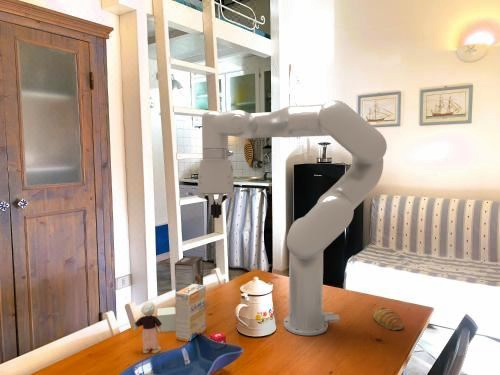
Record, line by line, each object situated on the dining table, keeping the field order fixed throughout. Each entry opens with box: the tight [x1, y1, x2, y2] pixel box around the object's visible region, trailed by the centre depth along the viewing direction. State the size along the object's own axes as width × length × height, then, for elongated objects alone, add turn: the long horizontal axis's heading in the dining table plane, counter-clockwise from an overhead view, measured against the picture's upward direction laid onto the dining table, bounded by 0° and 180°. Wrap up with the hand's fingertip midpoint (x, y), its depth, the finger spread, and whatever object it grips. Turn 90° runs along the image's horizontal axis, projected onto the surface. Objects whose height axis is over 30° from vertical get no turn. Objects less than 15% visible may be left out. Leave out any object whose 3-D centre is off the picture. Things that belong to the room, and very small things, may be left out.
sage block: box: [156, 306, 176, 334], centre depth 108 cm, size 5×5×5 cm
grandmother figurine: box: [133, 301, 165, 354], centre depth 95 cm, size 8×4×13 cm, turn 98°
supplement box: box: [174, 284, 207, 343], centre depth 103 cm, size 8×5×13 cm, turn 154°
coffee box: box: [174, 255, 204, 293], centre depth 121 cm, size 9×6×16 cm
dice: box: [209, 331, 227, 344], centre depth 97 cm, size 3×3×3 cm
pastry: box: [372, 306, 404, 331], centre depth 109 cm, size 9×7×4 cm
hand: (216, 217), depth 111 cm, fingers closed
